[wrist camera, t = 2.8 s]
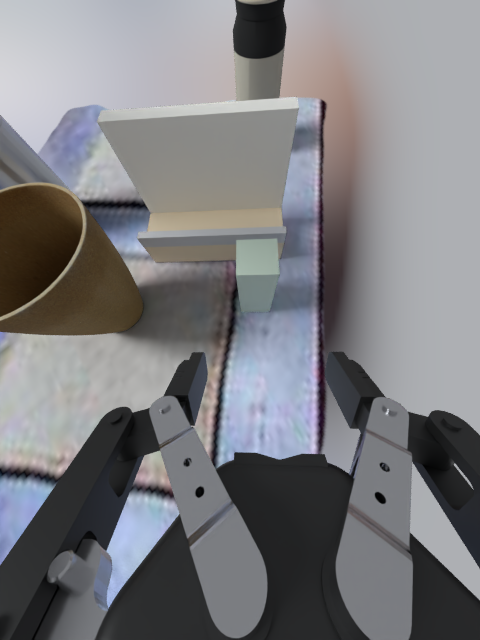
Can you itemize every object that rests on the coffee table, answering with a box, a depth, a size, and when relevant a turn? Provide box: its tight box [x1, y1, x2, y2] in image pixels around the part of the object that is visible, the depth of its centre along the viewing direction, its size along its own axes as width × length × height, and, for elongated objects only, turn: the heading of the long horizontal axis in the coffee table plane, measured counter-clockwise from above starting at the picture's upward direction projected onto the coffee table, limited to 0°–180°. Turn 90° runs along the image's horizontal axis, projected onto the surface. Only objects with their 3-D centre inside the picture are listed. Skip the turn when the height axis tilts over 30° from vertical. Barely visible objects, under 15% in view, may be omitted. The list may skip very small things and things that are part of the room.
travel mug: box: [233, 0, 286, 101], centre depth 34 cm, size 8×8×18 cm
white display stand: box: [97, 97, 299, 262], centre depth 27 cm, size 9×22×16 cm, turn 90°
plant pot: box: [0, 182, 143, 335], centre depth 24 cm, size 15×15×16 cm
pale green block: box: [236, 239, 280, 312], centre depth 26 cm, size 4×4×11 cm
